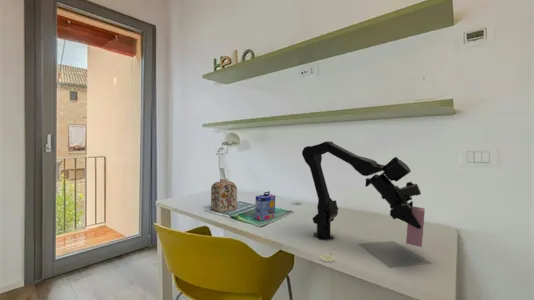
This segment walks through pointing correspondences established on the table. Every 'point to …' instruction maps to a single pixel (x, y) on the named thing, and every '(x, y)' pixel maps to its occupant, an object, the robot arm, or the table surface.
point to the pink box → (412, 232)
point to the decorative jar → (223, 196)
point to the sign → (327, 258)
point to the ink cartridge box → (265, 207)
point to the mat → (393, 254)
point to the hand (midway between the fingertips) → (420, 226)
